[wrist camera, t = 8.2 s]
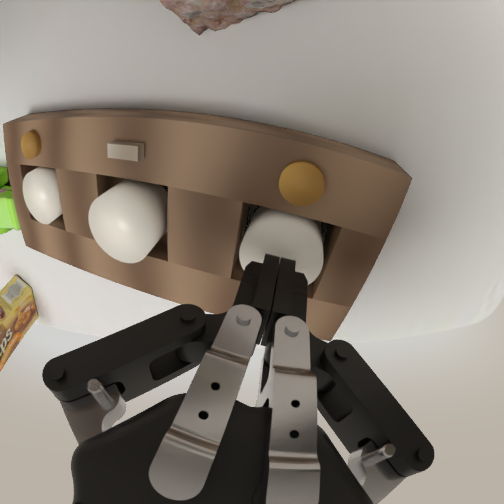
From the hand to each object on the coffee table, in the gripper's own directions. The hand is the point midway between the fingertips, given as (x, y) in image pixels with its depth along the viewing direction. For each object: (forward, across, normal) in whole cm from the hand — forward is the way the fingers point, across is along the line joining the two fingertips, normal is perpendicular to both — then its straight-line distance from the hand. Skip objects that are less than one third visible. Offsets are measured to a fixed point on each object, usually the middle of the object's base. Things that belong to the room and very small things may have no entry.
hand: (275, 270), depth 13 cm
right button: (+4, 0, 0) cm, 4 cm away
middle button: (+3, +9, 0) cm, 9 cm away
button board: (+4, +9, 0) cm, 10 cm away
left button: (+4, +18, 0) cm, 18 cm away
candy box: (+5, +35, +22) cm, 41 cm away
